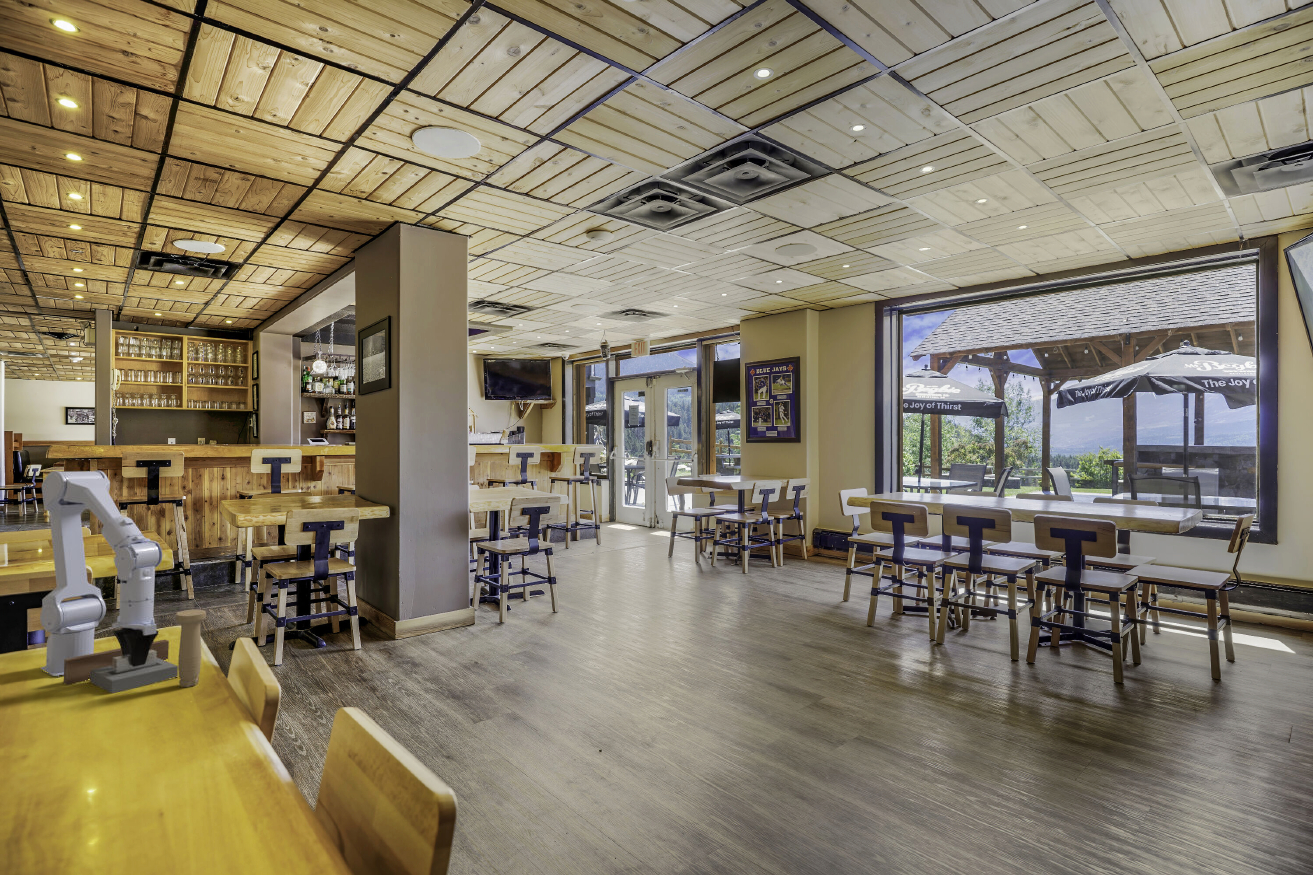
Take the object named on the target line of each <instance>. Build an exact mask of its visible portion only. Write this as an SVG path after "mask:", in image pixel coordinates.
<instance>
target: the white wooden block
mask: <svg viewBox="0 0 1313 875" xmlns="http://www.w3.org/2000/svg"><path fill="white" fill-rule="evenodd" d="M156 655H157V651H155V650H149V653H148V657H147V660H146V663H145V664H144V665H140V666H135V667H133V666H132V664H131V659H130V654H128V655H123V656H118V657H113V662H112V675H116V674H121V673H125V672H130V671H134V670H139V669H143V668H148V667H152V666H156Z"/></svg>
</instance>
